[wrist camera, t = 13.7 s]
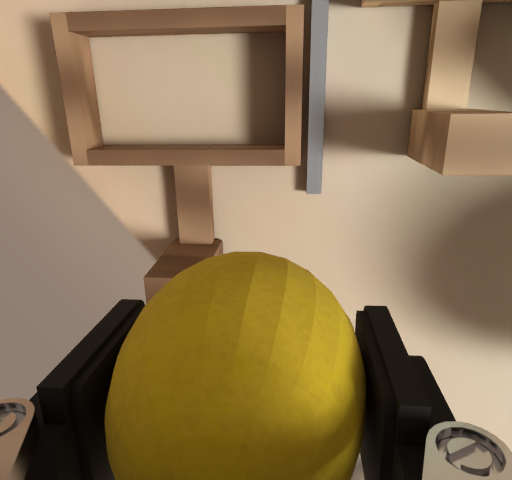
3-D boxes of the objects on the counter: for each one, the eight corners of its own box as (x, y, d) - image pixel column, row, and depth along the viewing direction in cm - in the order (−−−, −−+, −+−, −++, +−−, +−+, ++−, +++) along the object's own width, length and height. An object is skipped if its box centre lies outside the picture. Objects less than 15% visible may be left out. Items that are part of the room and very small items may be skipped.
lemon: (304, 396, 14) (311, 721, 7) (155, 338, 14) (-12, 600, 6) (375, 257, 12) (493, 481, 5) (206, 191, 12) (59, 312, 5)
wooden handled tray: (297, 277, 31) (298, 326, 25) (108, 273, 33) (61, 318, 26) (303, 13, 25) (306, -16, 19) (71, 20, 27) (-2, -4, 20)
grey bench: (320, 191, 29) (336, 251, 18) (117, 189, 30) (12, 245, 19) (336, -214, 22) (381, -544, 11) (68, -193, 23) (-147, -466, 12)
